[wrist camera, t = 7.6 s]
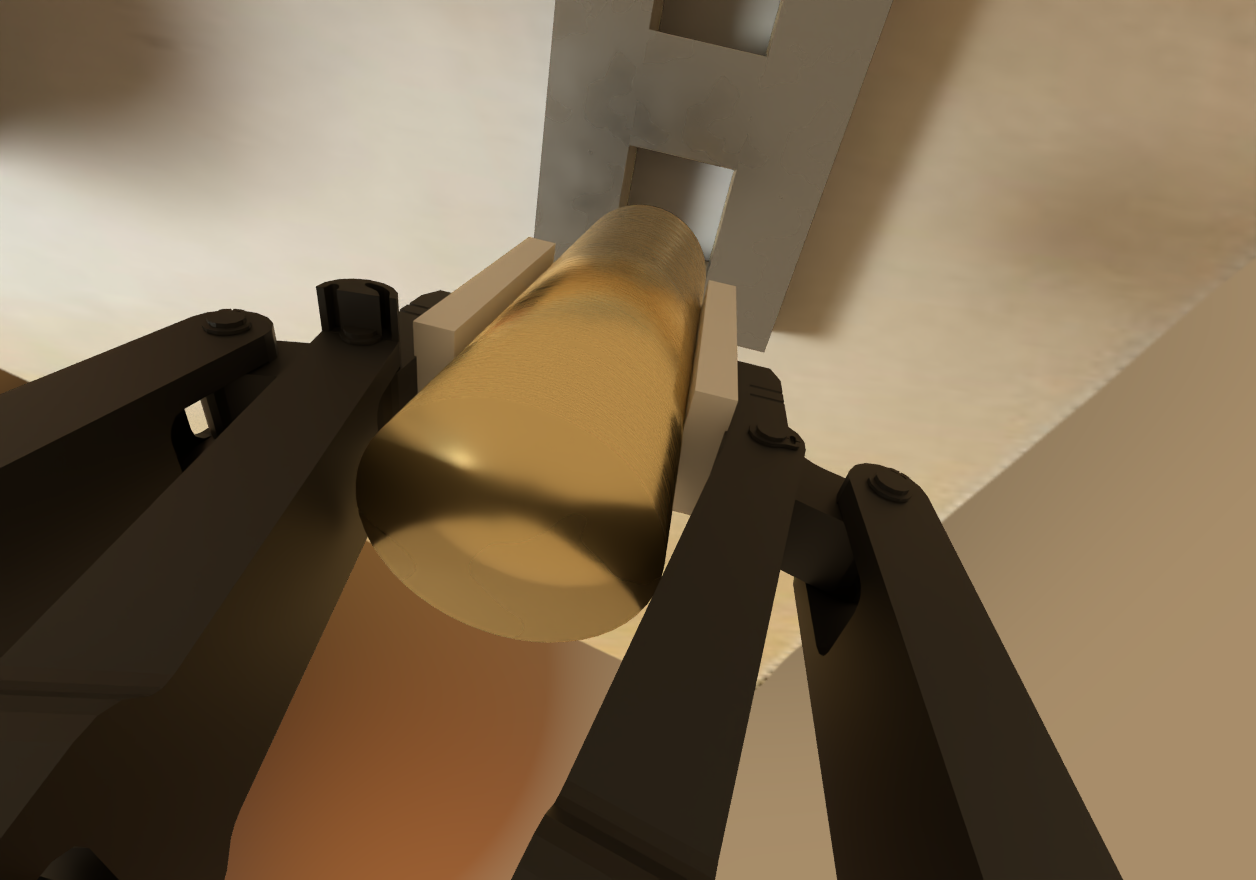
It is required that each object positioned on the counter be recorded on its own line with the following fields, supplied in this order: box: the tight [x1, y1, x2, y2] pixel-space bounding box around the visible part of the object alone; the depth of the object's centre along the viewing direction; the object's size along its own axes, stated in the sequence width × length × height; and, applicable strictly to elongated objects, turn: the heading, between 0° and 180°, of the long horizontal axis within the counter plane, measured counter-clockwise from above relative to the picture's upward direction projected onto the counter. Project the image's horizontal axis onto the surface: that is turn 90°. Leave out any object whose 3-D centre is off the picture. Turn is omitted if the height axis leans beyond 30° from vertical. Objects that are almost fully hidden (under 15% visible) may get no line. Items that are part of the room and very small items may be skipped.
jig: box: [534, 0, 893, 352], centre depth 27 cm, size 14×22×4 cm, turn 169°
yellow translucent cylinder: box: [355, 205, 706, 643], centre depth 13 cm, size 4×4×13 cm
